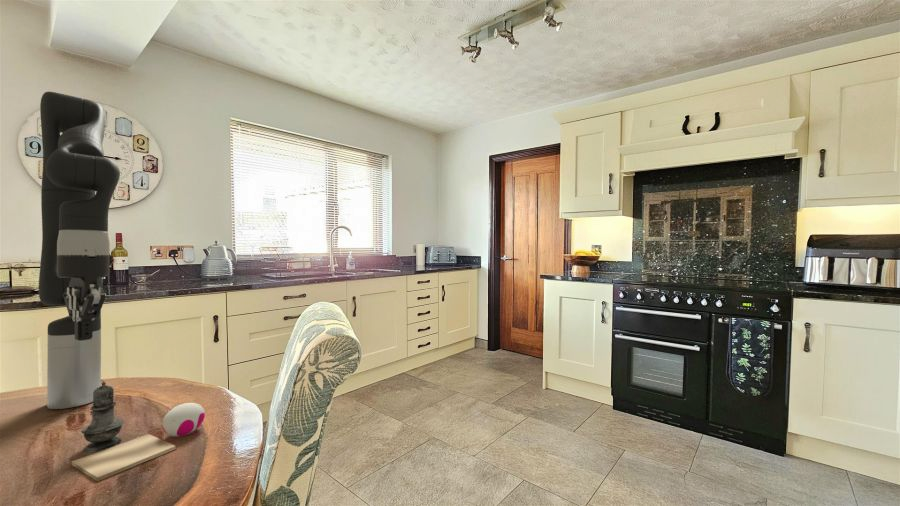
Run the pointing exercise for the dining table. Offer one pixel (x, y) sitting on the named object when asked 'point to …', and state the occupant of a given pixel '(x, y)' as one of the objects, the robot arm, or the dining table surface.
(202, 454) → the dining table surface
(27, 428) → the dining table surface
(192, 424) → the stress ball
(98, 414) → the grey chess piece
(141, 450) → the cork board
